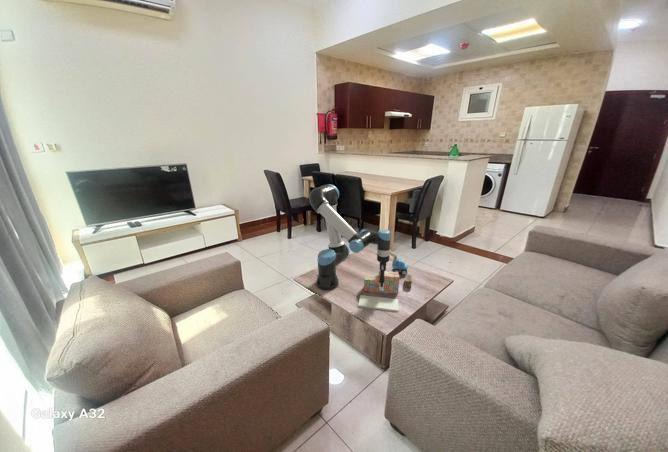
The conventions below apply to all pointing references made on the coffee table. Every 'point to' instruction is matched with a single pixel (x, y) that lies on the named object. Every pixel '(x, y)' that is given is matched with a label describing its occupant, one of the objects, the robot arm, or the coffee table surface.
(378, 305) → the sage board
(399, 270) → the toy excavator
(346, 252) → the robot arm
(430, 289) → the coffee table surface
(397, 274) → the stack of blocks
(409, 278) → the walnut brick
